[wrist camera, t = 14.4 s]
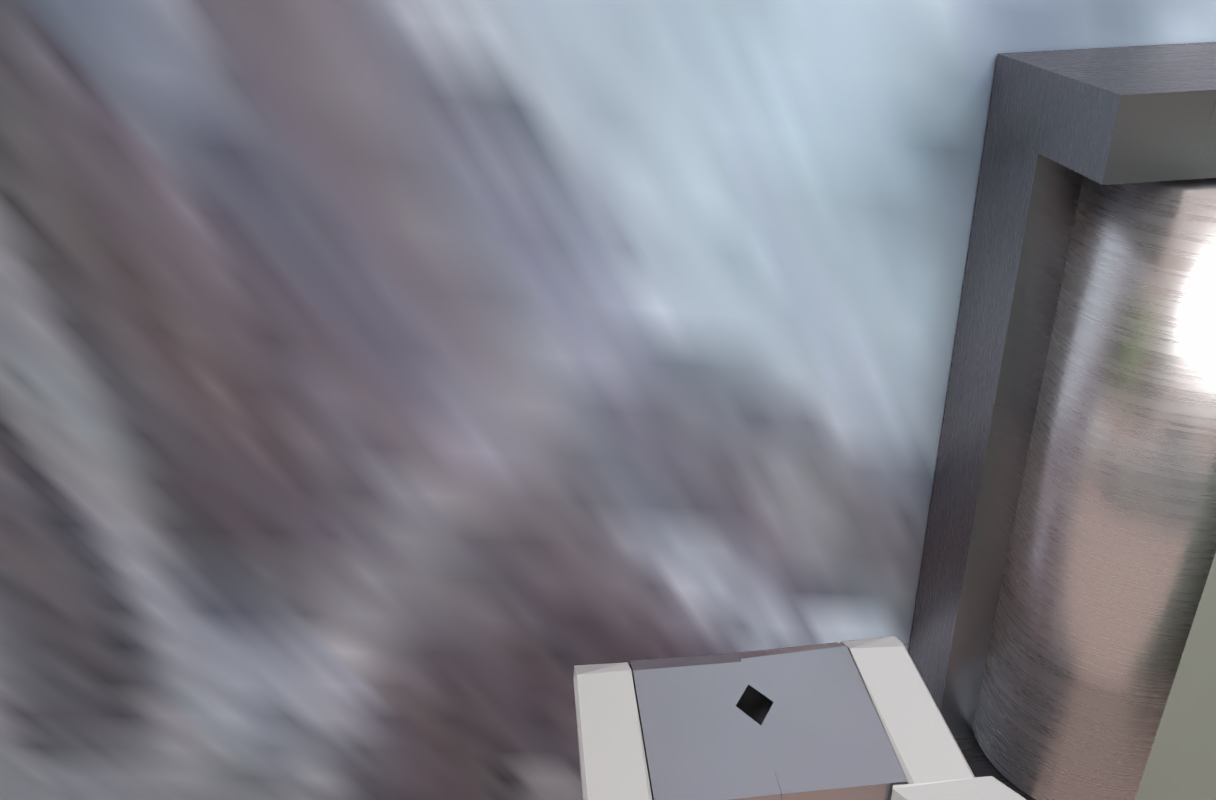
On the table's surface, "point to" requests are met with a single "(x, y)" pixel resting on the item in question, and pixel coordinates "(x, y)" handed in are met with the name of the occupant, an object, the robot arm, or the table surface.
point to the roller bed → (1077, 422)
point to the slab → (1188, 717)
